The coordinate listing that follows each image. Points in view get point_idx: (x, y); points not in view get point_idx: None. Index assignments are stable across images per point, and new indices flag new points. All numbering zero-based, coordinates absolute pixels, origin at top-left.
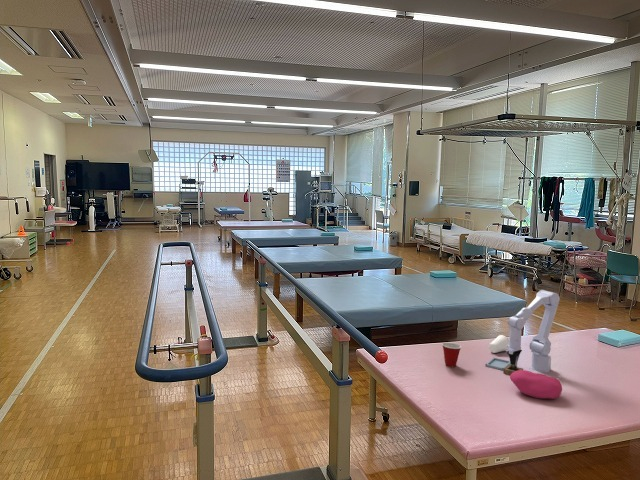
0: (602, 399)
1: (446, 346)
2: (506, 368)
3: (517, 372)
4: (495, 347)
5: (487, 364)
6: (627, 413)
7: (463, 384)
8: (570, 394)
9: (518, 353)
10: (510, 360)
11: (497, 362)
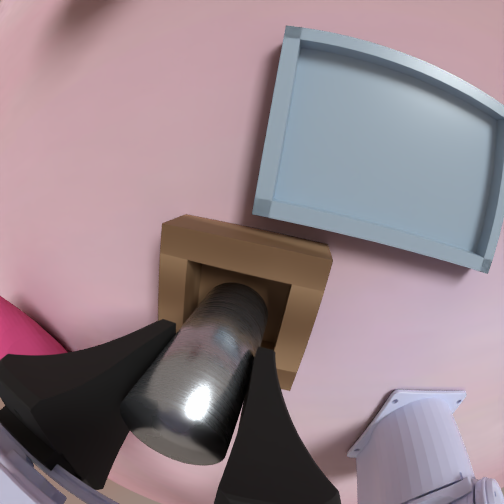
0: (178, 495)
1: None
2: (195, 251)
3: None
4: None
5: (287, 41)
6: (139, 492)
7: (3, 86)
8: (148, 460)
9: (88, 485)
10: (126, 341)
11: (452, 140)
